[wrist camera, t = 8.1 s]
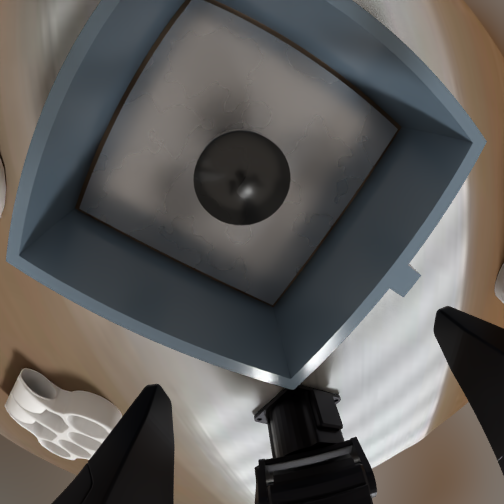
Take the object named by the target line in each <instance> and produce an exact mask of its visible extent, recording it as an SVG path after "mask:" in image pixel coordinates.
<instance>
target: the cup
mask: <svg viewBox="0 0 504 504" xmlns="http://www.w3.org/2000/svg"><path fill="white" fill-rule="evenodd" d="M495 294H496V296H497V297H498V298H499V299H500V300H501V301H502V302H503V303H504V263H503V265H502V267H501V269H500V271H499V273H498V276H497V279H496V283H495Z"/></svg>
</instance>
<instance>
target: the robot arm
mask: <svg viewBox="0 0 504 504" xmlns="http://www.w3.org/2000/svg"><path fill="white" fill-rule="evenodd" d="M434 334H435V337H436V339H437V341H438V343H439V345H440V347H441V349H442V351H443V354H444V356H445V358H446V360H447V362H448V365H449V367H450V369H451V371H452V373H453V374H454V376H455V378H456V380H457V381H458V383H459V385H460V387H461V388H462V390H463V392H464V394H465V396H466V397H467V399H468V401H469V403H470V405H471V407H472V408H473V410H474V412H475V414H476V416H477V418H478V420H479V422H480V424H481V426H482V428H483V430H484V432H485V434H486V436H487V438H488V441H489V443H490V445H491V447H492V449H493V451H494V454H495V455H496V458H497V460H498V463H499V465H500V467H501V470H502V472H503V475H504V329H503V328H501V327H499V326H496V325H494V324H491V323H489V322H487V321H484V320H482V319H479V318H477V317H474V316H472V315H469V314H467V313H465V312H462V311H460V310H457V309H455V308H452V307H450V306H446V307H443V308H441V309H439V310H438V311H437V313H436V318H435V323H434ZM340 400H341V398H340V396H339V395H337V394H333V393H329V392H325V391H321V390H317V389H313V388H310V387H306V386H302V385H298V386H297V387H296V388H295V389H294V390H291V389H288V388H285V389H284V390H283V391H281V392H280V393H279V394H278V395H277V396H276V397H275V398H274V399H273V400H272V401H271V402H269V403H268V404H267V405H266V406H265V407H264V408H263V409H262V410H260V411H259V412H258V413H257V414H256V415H255V416H254V420H255V421H256V422H260V423H265V424H268V430H269V437H270V443H271V450H272V456H273V458H271V459H266V460H265V459H260V460H259V466H257V467H255V475H256V494H255V504H373V502H372V498H373V497H376V495H377V488H376V482H375V478H374V474H373V471H372V469H371V466H370V464H369V462H368V460H367V458H366V456H365V454H364V452H363V450H362V447H361V445H360V443H359V441H358V439H357V437H354V438H351V439H350V440H347V441H344V438H343V435H342V432H341V429H342V428H343V424H342V421H341V418H340V416H339V413H338V410H337V407H336V404H337V403H338V402H339V401H340ZM173 488H174V433H173V419H172V405H171V401H170V399H169V397H168V396H167V394H166V393H165V391H164V390H163V389H162V387H161V386H160V385H159V384H152V385H147V386H146V387H145V388H144V389H143V390H142V392H141V393H140V394H139V396H138V397H137V398H136V399H135V401H134V402H133V403H132V405H131V406H130V407H129V409H128V410H127V411H126V413H125V414H124V415H123V416H122V418H121V419H120V420H119V422H118V423H117V424H116V426H115V427H114V428H113V430H112V431H111V432H110V433H109V435H108V436H107V437H106V439H105V440H104V441H103V443H102V444H101V445H100V447H99V448H98V449H97V450H96V452H95V453H94V454H93V456H92V457H91V458H90V460H89V461H88V463H87V464H86V465H85V466H84V467H83V469H82V470H81V471H80V473H79V474H78V475H77V476H76V478H75V479H74V480H73V481H72V482H71V483H70V485H69V486H68V487H67V488H66V489H65V490H64V491H63V492H62V493H61V494H60V495H59V496H58V497H57V498H56V500H55V501H54V502H53V503H52V504H173Z"/></svg>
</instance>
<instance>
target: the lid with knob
mask: <svg viewBox="0 0 504 504" xmlns="http://www.w3.org/2000/svg"><path fill="white" fill-rule="evenodd" d="M397 130H398V129H397V128H396V127H395V126H394V125H393V124H392V123H391V122H390V121H388V120H387V119H386V118H385V117H384V116H383V115H382V114H381V113H380V112H378V111H377V110H376V109H375V108H374V107H373V106H372V105H370V104H369V103H368V102H367V101H366V100H364V99H363V98H362V97H361V96H360V95H358V94H357V93H356V92H355V91H353V90H352V89H351V88H350V87H348V86H347V85H346V84H344V83H343V82H342V81H341V80H339V79H338V78H337V77H335V76H334V75H333V74H331V73H330V72H328V71H327V70H326V69H324V68H323V67H321V66H320V65H319V64H317V63H316V62H314V61H313V60H311V59H310V58H308V57H307V56H305V55H304V54H302V53H301V52H299V51H298V50H296V49H295V48H293V47H291V46H290V45H288V44H287V43H285V42H283V41H282V40H280V39H278V38H277V37H275V36H273V35H272V34H270V33H268V32H266V31H265V30H263V29H261V28H259V27H257V26H256V25H254V24H252V23H250V22H248V21H246V20H244V19H242V18H240V17H238V16H236V15H234V14H232V13H230V12H228V11H226V10H224V9H222V8H220V7H217V6H215V5H213V4H211V3H208V2H206V1H204V0H191V2H190V3H189V4H188V5H187V7H186V8H185V9H184V11H183V12H182V13H181V15H180V16H179V17H178V19H177V20H176V21H175V23H174V24H173V25H172V27H171V28H170V30H169V31H168V33H167V34H166V35H165V37H164V38H163V40H162V41H161V43H160V44H159V46H158V47H157V49H156V50H155V52H154V53H153V55H152V57H151V58H150V60H149V61H148V63H147V65H146V66H145V68H144V70H143V71H142V73H141V75H140V76H139V78H138V80H137V81H136V83H135V85H134V87H133V88H132V90H131V92H130V94H129V96H128V98H127V99H126V101H125V103H124V105H123V107H122V109H121V111H120V113H119V115H118V117H117V119H116V121H115V123H114V125H113V127H112V129H111V131H110V133H109V135H108V138H107V140H106V142H105V144H104V147H103V149H102V151H101V153H100V156H99V158H98V160H97V163H96V165H95V168H94V170H93V173H92V175H91V178H90V180H89V183H88V186H87V188H86V191H85V194H84V196H83V199H82V202H81V205H80V208H79V209H81V210H83V211H85V212H86V213H88V214H90V215H92V216H94V217H96V218H97V219H99V220H101V221H103V222H105V223H107V224H109V225H111V226H113V227H114V228H116V229H118V230H120V231H122V232H124V233H126V234H128V235H130V236H132V237H134V238H135V239H137V240H139V241H141V242H143V243H145V244H147V245H149V246H151V247H153V248H155V249H157V250H159V251H161V252H163V253H165V254H167V255H169V256H171V257H173V258H175V259H177V260H179V261H181V262H183V263H185V264H187V265H189V266H191V267H193V268H195V269H197V270H199V271H201V272H203V273H205V274H207V275H210V276H212V277H214V278H216V279H218V280H220V281H222V282H224V283H226V284H228V285H230V286H233V287H235V288H237V289H239V290H241V291H243V292H245V293H248V294H250V295H252V296H254V297H256V298H258V299H260V300H263V301H265V302H267V303H269V304H271V305H273V304H274V303H275V302H276V300H277V299H278V298H279V297H280V295H281V294H282V293H283V291H284V290H285V289H286V287H287V286H288V285H289V283H290V282H291V281H292V280H293V278H294V277H295V276H296V274H297V273H298V272H299V270H300V269H301V268H302V266H303V265H304V264H305V262H306V261H307V260H308V258H309V257H310V256H311V254H312V253H313V252H314V250H315V249H316V247H317V246H318V245H319V243H320V242H321V241H322V239H323V238H324V237H325V235H326V234H327V232H328V231H329V230H330V228H331V227H332V225H333V224H334V223H335V221H336V220H337V218H338V217H339V216H340V214H341V213H342V211H343V210H344V209H345V207H346V206H347V204H348V203H349V201H350V200H351V199H352V197H353V196H354V194H355V193H356V191H357V190H358V189H359V187H360V186H361V184H362V183H363V181H364V180H365V178H366V177H367V175H368V174H369V172H370V171H371V169H372V168H373V166H374V165H375V163H376V162H377V160H378V159H379V157H380V156H381V154H382V153H383V151H384V150H385V148H386V147H387V145H388V144H389V142H390V141H391V139H392V138H393V136H394V135H395V133H396V132H397Z"/></svg>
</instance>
